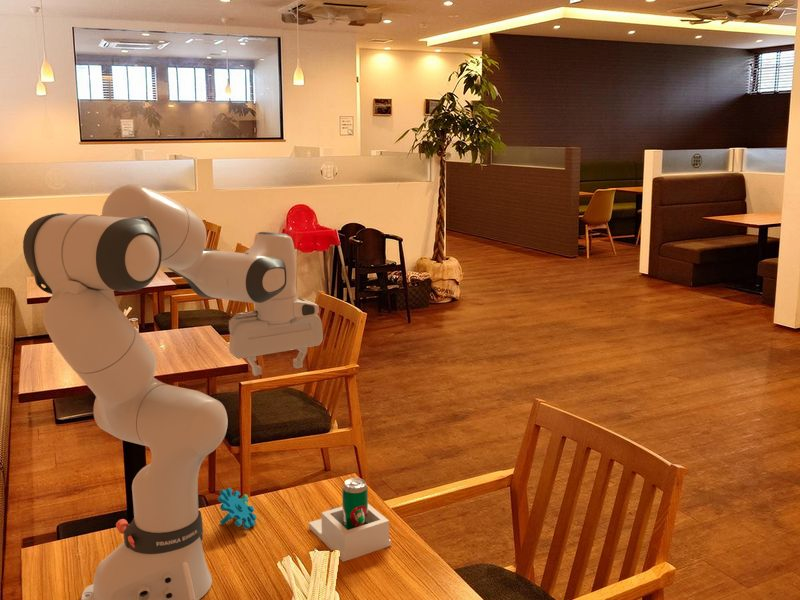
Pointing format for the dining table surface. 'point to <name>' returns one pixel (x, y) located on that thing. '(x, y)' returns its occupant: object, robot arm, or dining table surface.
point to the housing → (352, 533)
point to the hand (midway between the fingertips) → (277, 371)
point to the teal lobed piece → (236, 508)
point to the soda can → (354, 503)
